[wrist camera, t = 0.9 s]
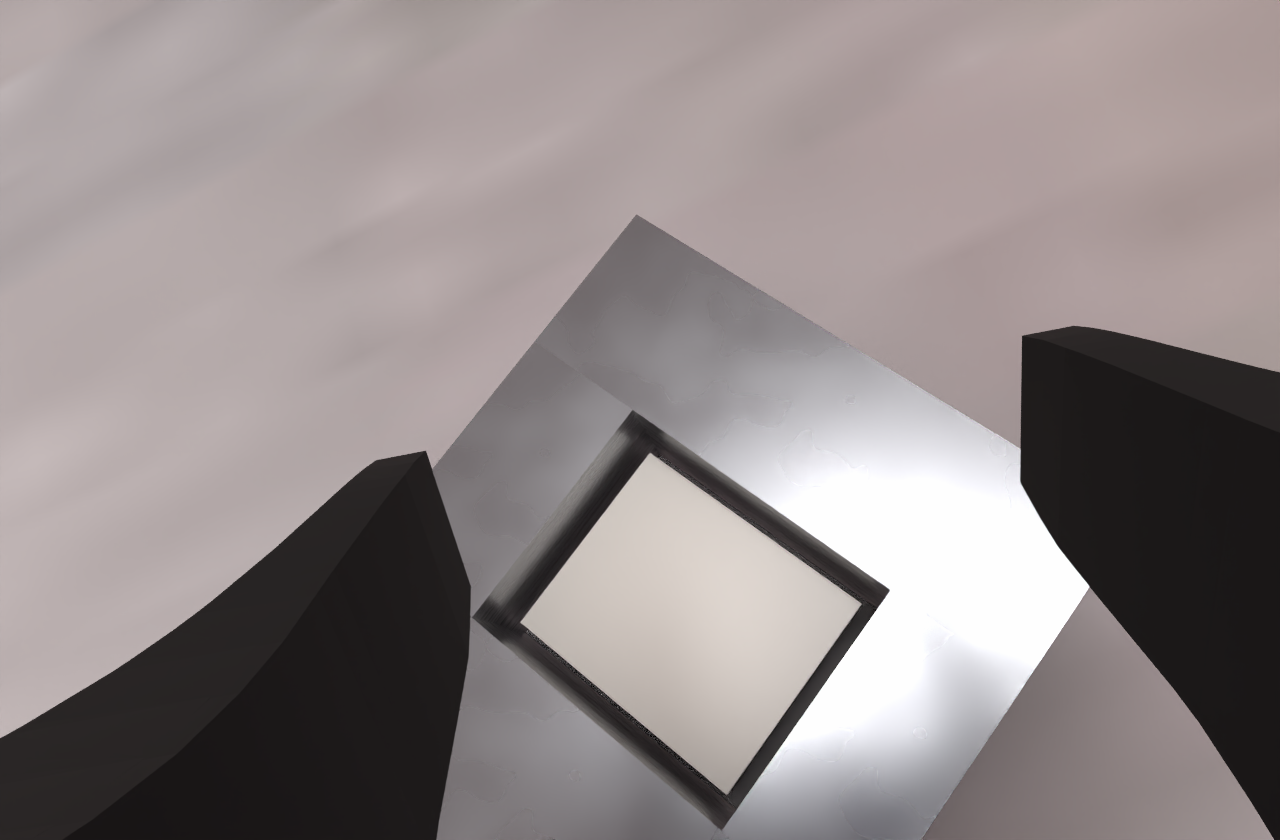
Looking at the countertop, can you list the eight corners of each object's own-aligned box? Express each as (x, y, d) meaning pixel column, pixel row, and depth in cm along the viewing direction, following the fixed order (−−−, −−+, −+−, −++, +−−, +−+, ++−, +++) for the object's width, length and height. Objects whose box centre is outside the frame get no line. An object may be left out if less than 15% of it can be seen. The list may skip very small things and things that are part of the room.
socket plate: (740, 1055, 20) (724, 1134, 17) (347, 684, 25) (263, 680, 21) (1080, 550, 22) (1134, 518, 18) (661, 284, 26) (636, 214, 23)
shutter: (730, 791, 21) (727, 794, 20) (531, 626, 23) (520, 622, 22) (859, 607, 22) (861, 603, 21) (656, 462, 24) (649, 452, 23)
